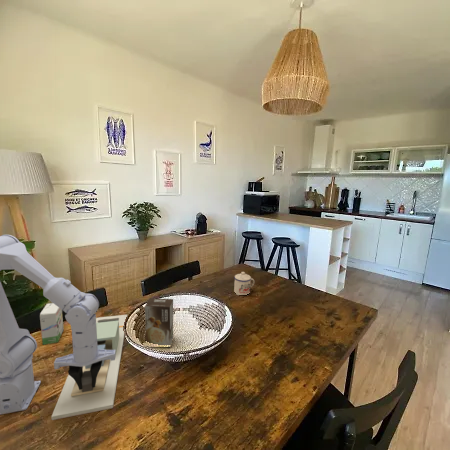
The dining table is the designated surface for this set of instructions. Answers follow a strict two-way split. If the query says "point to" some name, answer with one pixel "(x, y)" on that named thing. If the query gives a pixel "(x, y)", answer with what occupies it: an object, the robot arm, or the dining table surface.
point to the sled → (88, 378)
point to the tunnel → (108, 332)
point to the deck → (93, 400)
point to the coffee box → (159, 321)
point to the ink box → (51, 323)
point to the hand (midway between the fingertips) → (87, 385)
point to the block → (103, 360)
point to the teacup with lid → (242, 284)
